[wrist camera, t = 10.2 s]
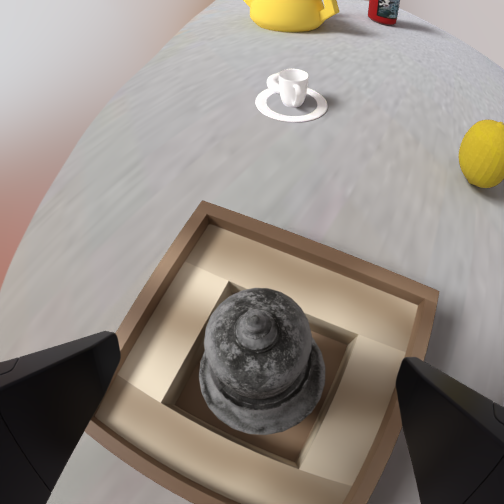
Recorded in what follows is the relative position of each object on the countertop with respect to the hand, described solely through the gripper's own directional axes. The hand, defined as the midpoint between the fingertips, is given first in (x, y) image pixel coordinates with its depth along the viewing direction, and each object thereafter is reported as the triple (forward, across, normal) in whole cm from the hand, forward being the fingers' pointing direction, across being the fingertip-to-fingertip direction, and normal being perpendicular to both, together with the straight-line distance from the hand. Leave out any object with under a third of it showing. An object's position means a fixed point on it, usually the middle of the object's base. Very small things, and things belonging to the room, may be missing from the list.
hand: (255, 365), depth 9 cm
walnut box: (+8, 0, +6) cm, 10 cm away
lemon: (+21, -20, -6) cm, 29 cm away
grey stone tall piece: (+7, 0, +6) cm, 9 cm away
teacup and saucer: (+29, -3, -15) cm, 33 cm away
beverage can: (+57, -22, -44) cm, 75 cm away
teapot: (+51, -1, -37) cm, 63 cm away
